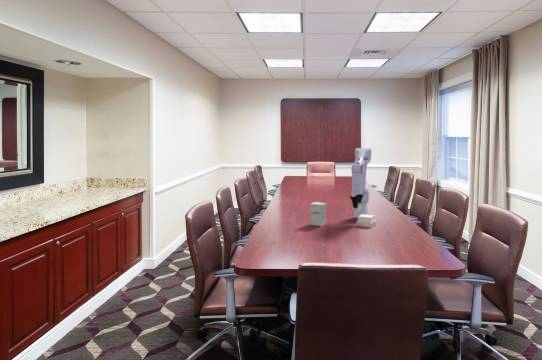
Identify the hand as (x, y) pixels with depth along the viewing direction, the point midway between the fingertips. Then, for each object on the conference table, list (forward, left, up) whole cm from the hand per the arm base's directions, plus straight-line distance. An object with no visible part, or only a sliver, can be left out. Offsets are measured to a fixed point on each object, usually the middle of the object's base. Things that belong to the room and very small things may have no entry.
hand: (356, 207), depth 228 cm
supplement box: (+14, -19, -10) cm, 25 cm away
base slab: (+2, +6, -10) cm, 12 cm away
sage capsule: (0, 0, -1) cm, 1 cm away
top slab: (+2, +6, -7) cm, 10 cm away
